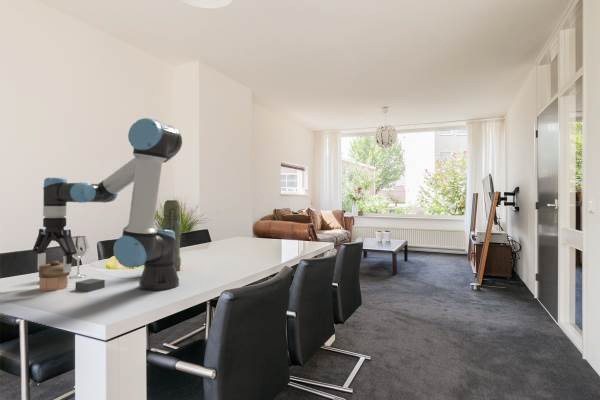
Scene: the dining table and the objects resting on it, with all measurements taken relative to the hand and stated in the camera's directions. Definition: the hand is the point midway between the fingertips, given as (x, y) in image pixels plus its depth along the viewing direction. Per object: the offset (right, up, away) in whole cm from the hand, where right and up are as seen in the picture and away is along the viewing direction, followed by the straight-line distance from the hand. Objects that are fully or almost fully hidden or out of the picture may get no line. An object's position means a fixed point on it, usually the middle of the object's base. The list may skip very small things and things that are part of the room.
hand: (54, 271), depth 140 cm
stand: (+14, -7, 0) cm, 16 cm away
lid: (0, -2, 0) cm, 2 cm away
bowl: (0, -7, 0) cm, 7 cm away
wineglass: (-4, -7, +21) cm, 23 cm away
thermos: (+33, -7, +37) cm, 50 cm away
